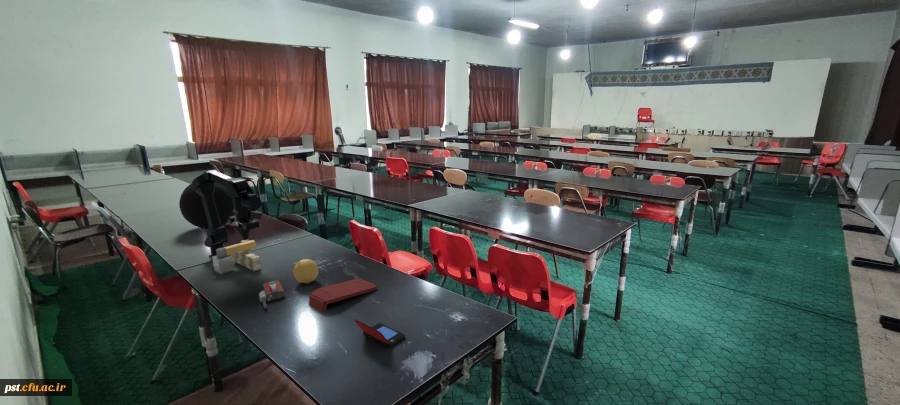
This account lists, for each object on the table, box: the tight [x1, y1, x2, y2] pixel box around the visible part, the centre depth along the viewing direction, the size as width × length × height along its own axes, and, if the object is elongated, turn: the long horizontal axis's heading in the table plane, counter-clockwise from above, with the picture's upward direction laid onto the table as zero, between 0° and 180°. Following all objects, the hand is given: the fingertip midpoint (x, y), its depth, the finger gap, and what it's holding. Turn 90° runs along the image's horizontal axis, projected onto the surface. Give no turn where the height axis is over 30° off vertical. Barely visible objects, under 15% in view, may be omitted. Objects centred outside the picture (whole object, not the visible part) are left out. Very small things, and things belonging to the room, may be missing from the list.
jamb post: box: [211, 254, 236, 275], centre depth 176 cm, size 6×6×7 cm
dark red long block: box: [308, 278, 377, 313], centre depth 153 cm, size 12×5×25 cm
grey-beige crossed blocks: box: [233, 239, 262, 272], centre depth 182 cm, size 18×6×10 cm, turn 53°
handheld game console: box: [354, 319, 406, 349], centre depth 124 cm, size 12×11×7 cm
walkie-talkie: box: [258, 280, 286, 309], centre depth 152 cm, size 9×4×20 cm
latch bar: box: [216, 239, 257, 257], centre depth 180 cm, size 16×4×3 cm, turn 141°
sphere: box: [178, 183, 235, 230], centre depth 234 cm, size 30×30×30 cm
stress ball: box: [292, 258, 319, 284], centre depth 163 cm, size 10×10×10 cm
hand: (245, 240), depth 181 cm, fingers closed
